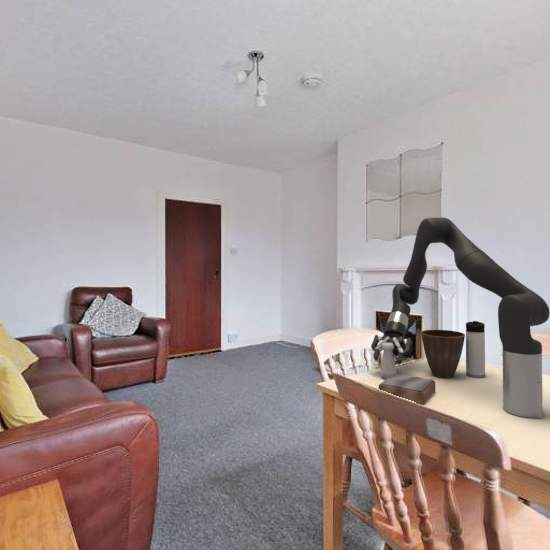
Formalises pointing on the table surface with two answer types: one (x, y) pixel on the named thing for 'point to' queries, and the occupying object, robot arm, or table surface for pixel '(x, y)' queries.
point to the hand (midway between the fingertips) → (386, 361)
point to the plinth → (409, 387)
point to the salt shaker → (387, 361)
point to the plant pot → (443, 351)
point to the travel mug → (475, 349)
